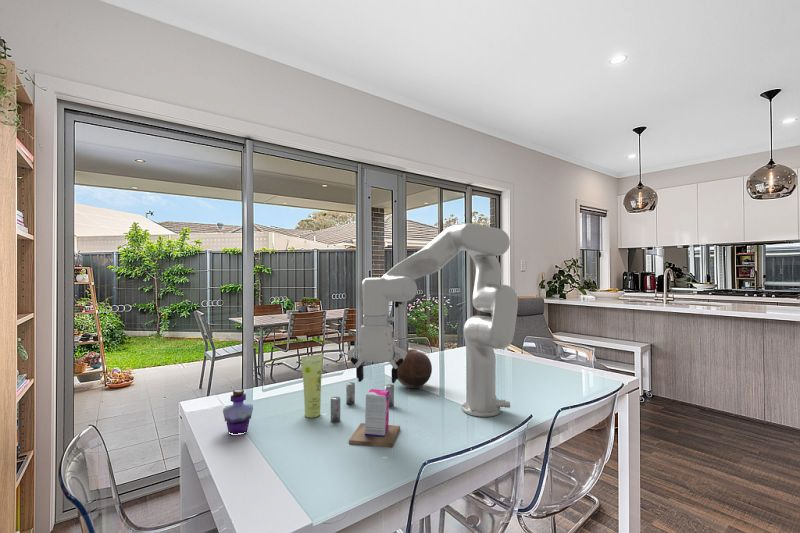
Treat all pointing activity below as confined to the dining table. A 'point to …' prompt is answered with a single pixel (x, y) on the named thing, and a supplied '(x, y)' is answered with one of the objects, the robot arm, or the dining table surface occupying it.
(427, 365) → the wooden sphere
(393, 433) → the walnut pad
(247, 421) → the potion bottle
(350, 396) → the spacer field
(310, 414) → the tube
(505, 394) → the dining table surface
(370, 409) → the supplement box
